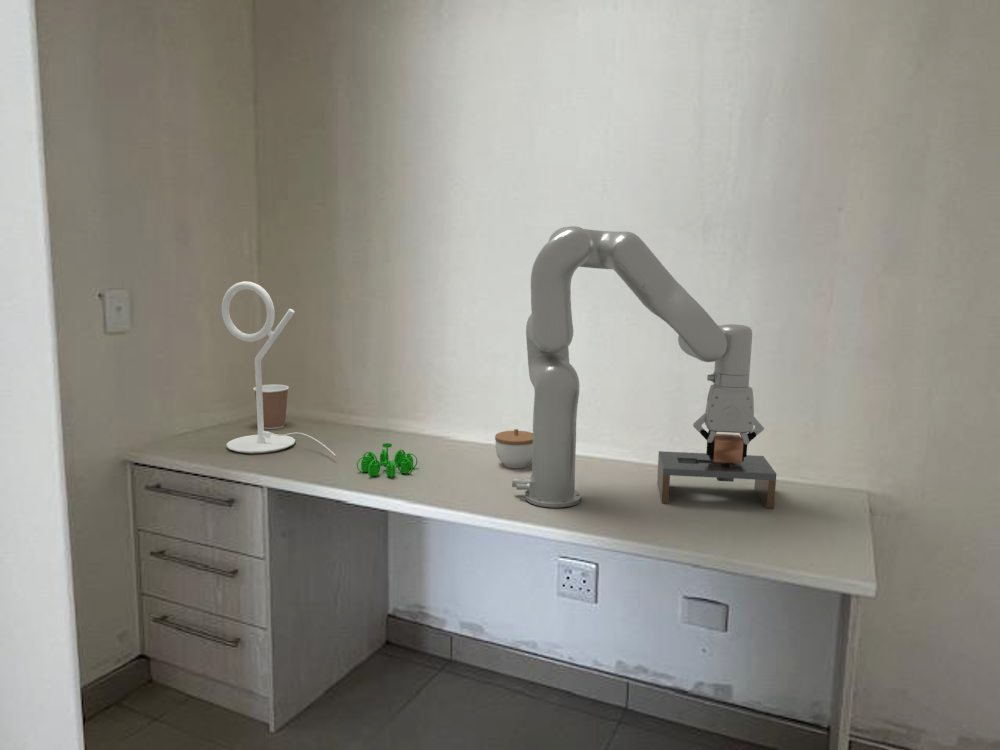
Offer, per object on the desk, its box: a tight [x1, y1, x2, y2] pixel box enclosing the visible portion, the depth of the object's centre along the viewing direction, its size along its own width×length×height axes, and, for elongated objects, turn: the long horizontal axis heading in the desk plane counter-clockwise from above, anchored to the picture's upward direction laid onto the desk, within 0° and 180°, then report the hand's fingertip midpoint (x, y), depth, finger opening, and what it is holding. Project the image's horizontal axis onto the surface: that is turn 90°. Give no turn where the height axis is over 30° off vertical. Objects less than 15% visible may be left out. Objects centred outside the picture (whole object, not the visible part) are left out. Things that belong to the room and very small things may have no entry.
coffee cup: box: [252, 384, 290, 430], centre depth 237 cm, size 10×10×12 cm
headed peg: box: [713, 433, 744, 483], centre depth 177 cm, size 6×6×10 cm
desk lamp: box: [221, 280, 337, 458], centre depth 210 cm, size 37×18×45 cm, turn 73°
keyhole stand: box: [656, 451, 777, 510], centre depth 179 cm, size 24×14×8 cm, turn 83°
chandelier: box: [356, 442, 418, 479], centre depth 195 cm, size 15×15×7 cm
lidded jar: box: [494, 428, 533, 469], centre depth 201 cm, size 11×11×9 cm
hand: (726, 458), depth 177 cm, fingers closed on headed peg, 5 cm apart
